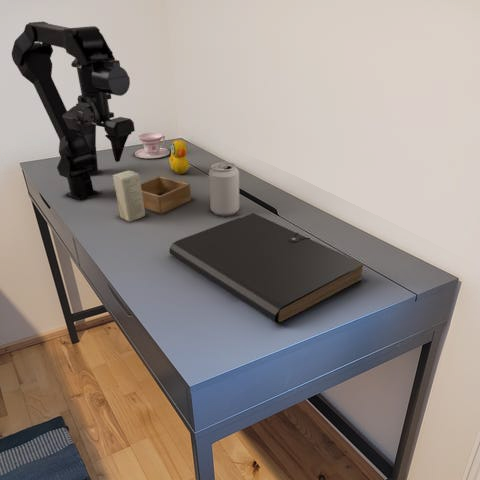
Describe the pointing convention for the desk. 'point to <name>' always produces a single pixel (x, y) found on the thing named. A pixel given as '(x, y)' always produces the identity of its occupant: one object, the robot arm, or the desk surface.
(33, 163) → the desk surface
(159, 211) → the crate
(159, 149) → the teacup
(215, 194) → the can
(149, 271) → the desk surface
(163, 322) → the desk surface
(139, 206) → the box
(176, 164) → the duckling
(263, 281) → the black book
